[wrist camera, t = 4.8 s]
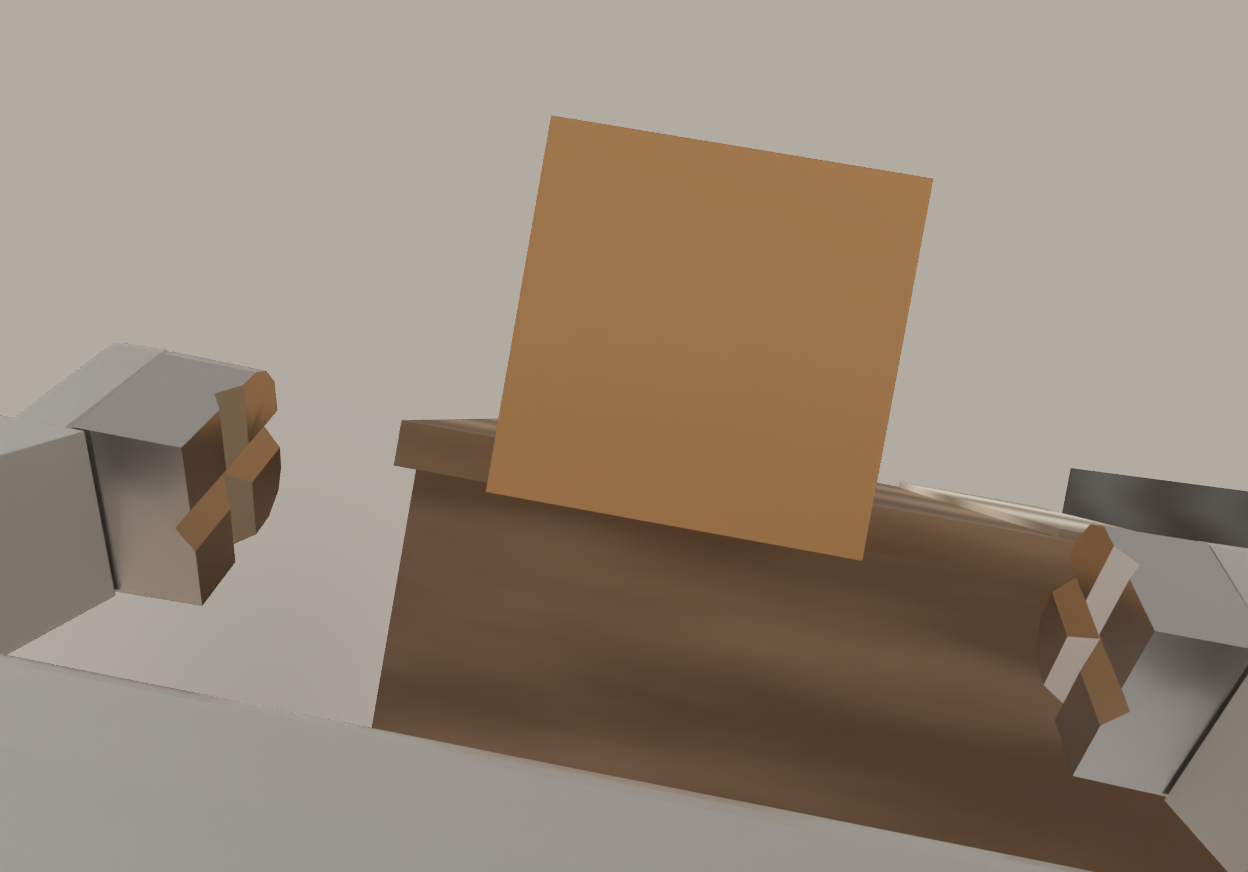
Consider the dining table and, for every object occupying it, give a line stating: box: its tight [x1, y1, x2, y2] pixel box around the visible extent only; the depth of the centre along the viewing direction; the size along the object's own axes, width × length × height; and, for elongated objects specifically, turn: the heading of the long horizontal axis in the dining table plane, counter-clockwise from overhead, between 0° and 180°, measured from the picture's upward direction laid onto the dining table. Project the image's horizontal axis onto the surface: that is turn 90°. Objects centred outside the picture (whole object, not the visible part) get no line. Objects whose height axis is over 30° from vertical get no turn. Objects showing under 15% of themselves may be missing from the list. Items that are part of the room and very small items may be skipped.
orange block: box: [486, 116, 933, 561], centre depth 24 cm, size 28×4×4 cm, turn 177°
